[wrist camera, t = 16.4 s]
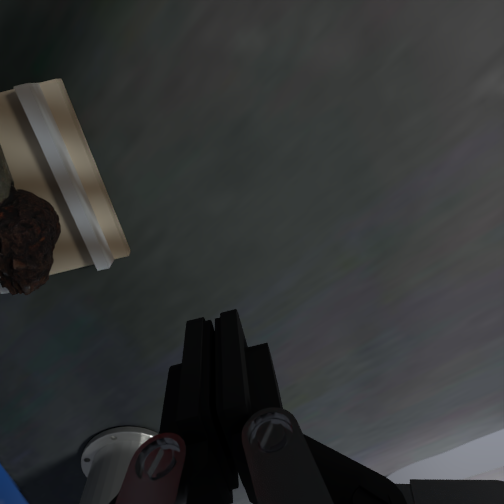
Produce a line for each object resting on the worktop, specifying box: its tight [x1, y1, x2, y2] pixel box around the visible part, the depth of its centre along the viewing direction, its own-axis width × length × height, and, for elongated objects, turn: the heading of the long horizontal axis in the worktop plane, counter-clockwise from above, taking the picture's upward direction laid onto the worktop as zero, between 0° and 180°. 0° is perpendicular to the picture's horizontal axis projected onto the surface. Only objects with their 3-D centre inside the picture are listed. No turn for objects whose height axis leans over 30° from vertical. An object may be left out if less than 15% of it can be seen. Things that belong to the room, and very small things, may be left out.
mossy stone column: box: [0, 145, 61, 295], centre depth 32 cm, size 18×7×6 cm, turn 8°
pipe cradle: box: [0, 79, 130, 294], centre depth 34 cm, size 17×14×3 cm
